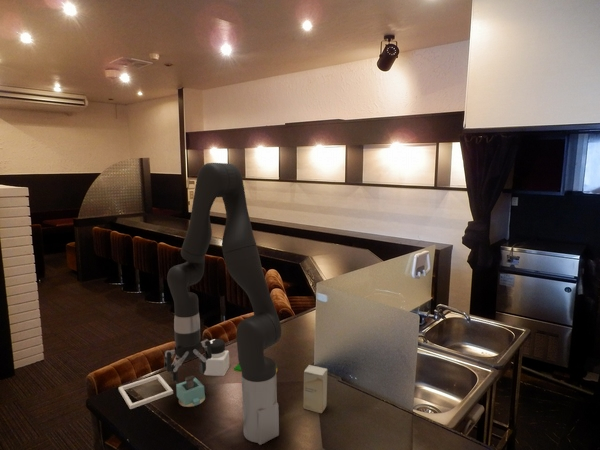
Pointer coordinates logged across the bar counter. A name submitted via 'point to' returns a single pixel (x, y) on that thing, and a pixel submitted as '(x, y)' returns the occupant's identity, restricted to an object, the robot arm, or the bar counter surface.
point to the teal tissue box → (190, 393)
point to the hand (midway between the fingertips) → (189, 376)
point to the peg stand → (189, 386)
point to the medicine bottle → (217, 359)
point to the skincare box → (315, 388)
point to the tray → (147, 400)
